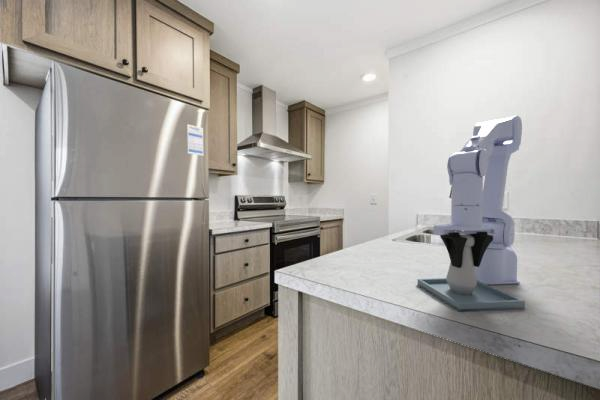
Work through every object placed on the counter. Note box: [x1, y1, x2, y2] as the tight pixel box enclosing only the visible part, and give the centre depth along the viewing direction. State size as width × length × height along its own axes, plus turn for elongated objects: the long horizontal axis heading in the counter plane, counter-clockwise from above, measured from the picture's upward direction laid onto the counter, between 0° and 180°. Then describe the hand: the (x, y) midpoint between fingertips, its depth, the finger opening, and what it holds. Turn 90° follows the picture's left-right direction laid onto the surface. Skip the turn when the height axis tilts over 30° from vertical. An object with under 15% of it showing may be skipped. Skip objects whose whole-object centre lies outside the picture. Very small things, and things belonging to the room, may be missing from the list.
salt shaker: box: [445, 234, 477, 295], centre depth 56 cm, size 6×6×13 cm
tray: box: [417, 277, 526, 313], centre depth 55 cm, size 14×14×2 cm
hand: (465, 266), depth 55 cm, fingers closed on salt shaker, 4 cm apart
